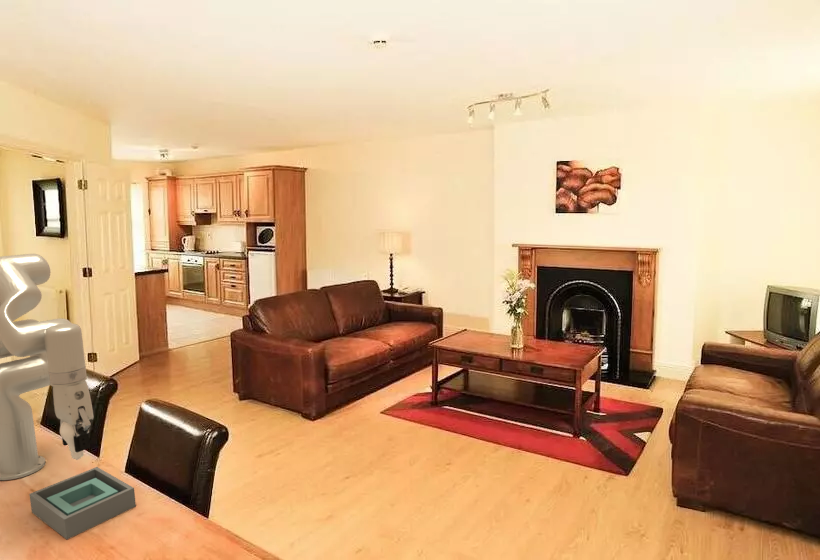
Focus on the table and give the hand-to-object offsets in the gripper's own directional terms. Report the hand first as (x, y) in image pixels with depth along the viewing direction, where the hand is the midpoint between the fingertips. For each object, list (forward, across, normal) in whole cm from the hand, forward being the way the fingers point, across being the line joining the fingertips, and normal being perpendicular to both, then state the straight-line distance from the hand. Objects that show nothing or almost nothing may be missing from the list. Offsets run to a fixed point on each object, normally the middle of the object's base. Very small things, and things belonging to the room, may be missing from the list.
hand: (76, 445), depth 133 cm
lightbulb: (+4, 0, 0) cm, 4 cm away
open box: (+17, 0, 0) cm, 17 cm away
